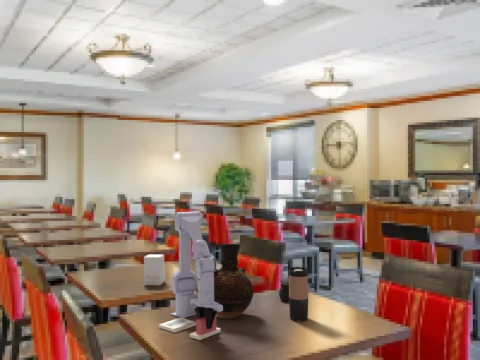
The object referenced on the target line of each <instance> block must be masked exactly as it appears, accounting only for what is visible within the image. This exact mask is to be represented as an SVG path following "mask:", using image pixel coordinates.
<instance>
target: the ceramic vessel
mask: <svg viewBox="0 0 480 360" xmlns="http://www.w3.org/2000/svg"><path fill="white" fill-rule="evenodd" d="M220 249H221V253H222V258H221V260H220V265H221V267H220V268H219V269H218V268H216V271H215V272H213V273H214V302H216V303H218V304H220V305H223V311H220V312H217V314H216V317H218V318H220V319H225V320H226V319H227V320H228V319H235V318H238V317H240V316H241V315H243V313H244V312H245V311H246V310H247V309H248V308H249V306H250V305H251V303H252V301H253V297H254V287H253V284H252V282H251V280H250V278H249V277H248V275H247V274H246V268H245V267H244V266H242V267H238V265H239V259H238V256H239V251H240V249H241V244H239V243H221V244H220Z"/></svg>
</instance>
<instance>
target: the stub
mask: <svg viewBox="0 0 480 360" xmlns="http://www.w3.org/2000/svg"><path fill="white" fill-rule="evenodd" d="M195 322H196V325H195V329H196V330H195V331H194V332H191V333H189V338H191V339H195V340H197V341H202V340H203V339H207V338H208V337H211V336H215V335H216V334H219V333H221V331H222V328H220V327H217V316H215V318H214V321H213V325H212V328H211V329H207V327H206V318H205V317H203V318H200V319H199V318H198V319H196V320H195Z"/></svg>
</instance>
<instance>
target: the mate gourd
mask: <svg viewBox="0 0 480 360" xmlns="http://www.w3.org/2000/svg"><path fill="white" fill-rule="evenodd" d="M278 281H280V288H279V292H278V298H279V299H280V300H281V301H282V302H287V303H289V281H284V282H283V281H282V280H281V279H280V278H278Z"/></svg>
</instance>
